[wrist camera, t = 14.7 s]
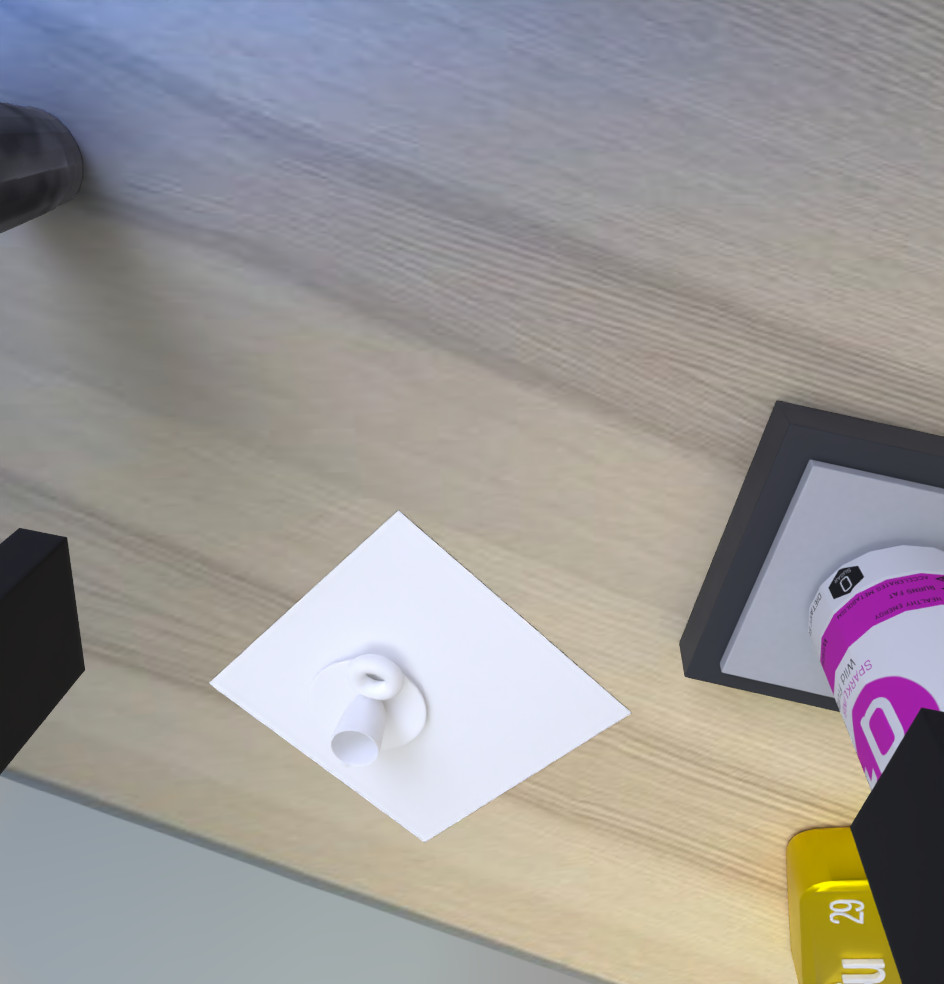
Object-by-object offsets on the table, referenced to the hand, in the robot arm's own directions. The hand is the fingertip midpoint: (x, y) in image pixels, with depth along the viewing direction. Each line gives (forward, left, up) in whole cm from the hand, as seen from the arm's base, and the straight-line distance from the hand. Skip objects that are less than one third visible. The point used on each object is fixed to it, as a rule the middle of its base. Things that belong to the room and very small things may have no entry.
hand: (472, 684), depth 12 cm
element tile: (+37, +34, -30) cm, 58 cm away
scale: (+12, +21, -29) cm, 38 cm away
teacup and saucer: (+29, -2, -30) cm, 41 cm away
